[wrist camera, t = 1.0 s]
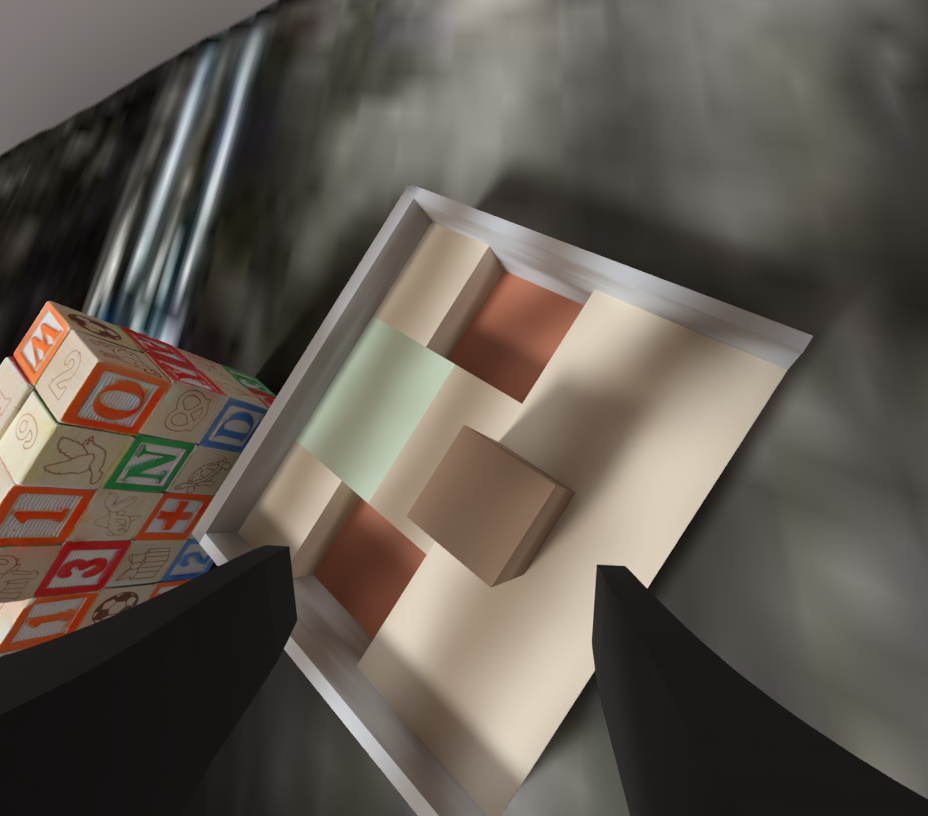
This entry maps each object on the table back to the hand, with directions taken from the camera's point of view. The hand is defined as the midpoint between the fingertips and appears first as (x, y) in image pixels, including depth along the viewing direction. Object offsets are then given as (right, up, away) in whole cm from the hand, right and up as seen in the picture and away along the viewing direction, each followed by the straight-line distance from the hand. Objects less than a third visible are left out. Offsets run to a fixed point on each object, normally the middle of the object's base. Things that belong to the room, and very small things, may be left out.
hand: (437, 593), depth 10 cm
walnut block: (+3, 0, +9) cm, 9 cm away
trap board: (+2, +1, +13) cm, 13 cm away
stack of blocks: (-17, -4, +20) cm, 27 cm away
